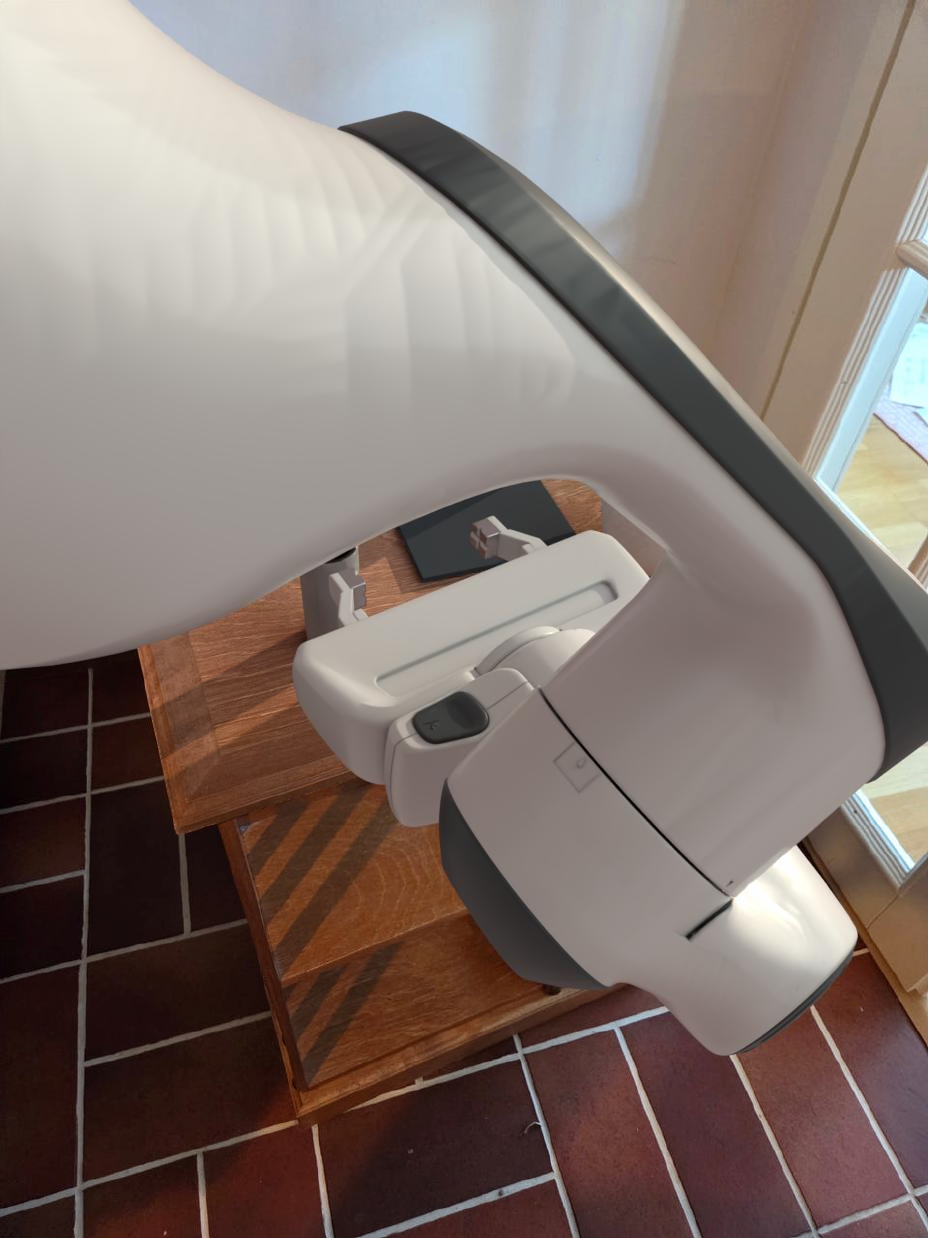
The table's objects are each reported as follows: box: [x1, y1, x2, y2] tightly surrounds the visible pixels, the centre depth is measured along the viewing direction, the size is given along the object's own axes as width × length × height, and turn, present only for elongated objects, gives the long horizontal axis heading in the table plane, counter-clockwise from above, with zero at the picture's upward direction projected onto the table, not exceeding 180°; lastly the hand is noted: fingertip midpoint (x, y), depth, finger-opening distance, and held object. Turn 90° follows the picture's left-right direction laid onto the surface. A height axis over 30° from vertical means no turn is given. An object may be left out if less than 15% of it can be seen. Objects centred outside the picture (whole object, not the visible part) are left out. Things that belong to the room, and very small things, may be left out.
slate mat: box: [397, 480, 577, 584], centre depth 81 cm, size 16×14×1 cm
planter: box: [299, 545, 362, 641], centre depth 65 cm, size 4×4×10 cm
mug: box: [600, 498, 665, 577], centre depth 75 cm, size 15×11×13 cm
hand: (412, 552), depth 49 cm, fingers open, 8 cm apart
